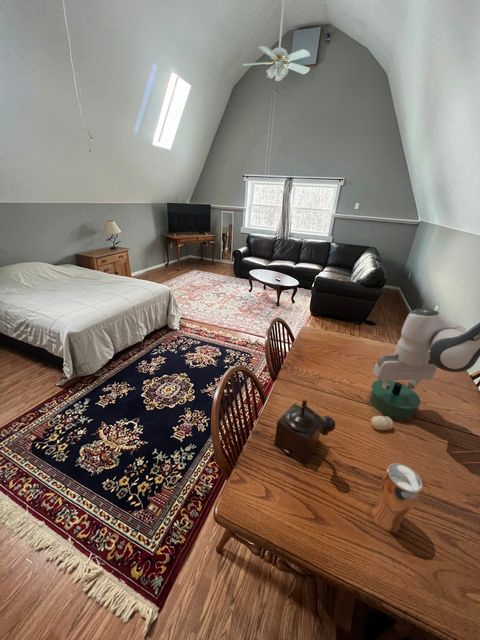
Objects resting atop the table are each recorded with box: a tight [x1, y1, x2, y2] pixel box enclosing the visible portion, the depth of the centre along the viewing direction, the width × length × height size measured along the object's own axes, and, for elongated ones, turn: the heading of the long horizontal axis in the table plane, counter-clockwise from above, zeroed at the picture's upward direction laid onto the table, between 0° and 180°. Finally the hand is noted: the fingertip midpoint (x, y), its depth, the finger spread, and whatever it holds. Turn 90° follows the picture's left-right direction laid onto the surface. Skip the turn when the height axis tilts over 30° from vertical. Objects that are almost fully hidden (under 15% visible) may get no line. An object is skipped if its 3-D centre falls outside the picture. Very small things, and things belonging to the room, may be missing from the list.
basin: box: [369, 390, 417, 421], centre depth 97 cm, size 15×15×6 cm
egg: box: [370, 415, 394, 431], centre depth 88 cm, size 7×4×4 cm, turn 94°
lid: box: [371, 379, 421, 410], centre depth 95 cm, size 16×16×5 cm
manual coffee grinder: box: [273, 399, 336, 464], centre depth 76 cm, size 16×11×18 cm
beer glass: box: [371, 462, 424, 533], centre depth 60 cm, size 7×7×15 cm
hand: (397, 387), depth 95 cm, fingers open, 8 cm apart
